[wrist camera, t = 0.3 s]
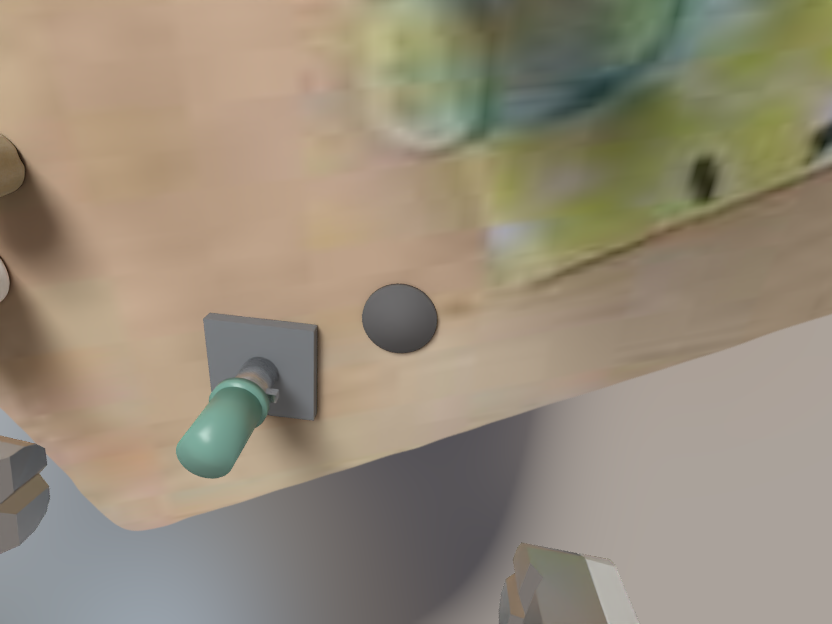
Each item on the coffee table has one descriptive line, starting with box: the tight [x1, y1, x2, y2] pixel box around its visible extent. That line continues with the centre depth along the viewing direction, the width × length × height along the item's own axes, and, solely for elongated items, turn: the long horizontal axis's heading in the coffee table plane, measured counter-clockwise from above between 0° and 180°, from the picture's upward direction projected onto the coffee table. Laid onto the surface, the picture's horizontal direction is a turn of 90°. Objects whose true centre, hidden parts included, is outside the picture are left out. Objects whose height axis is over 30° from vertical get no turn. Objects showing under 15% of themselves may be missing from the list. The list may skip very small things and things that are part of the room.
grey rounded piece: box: [217, 357, 279, 403], centre depth 50 cm, size 4×6×6 cm, turn 85°
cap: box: [176, 377, 270, 478], centre depth 44 cm, size 6×6×8 cm
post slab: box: [203, 313, 317, 421], centre depth 53 cm, size 12×12×2 cm
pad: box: [362, 284, 437, 353], centre depth 50 cm, size 8×8×1 cm
